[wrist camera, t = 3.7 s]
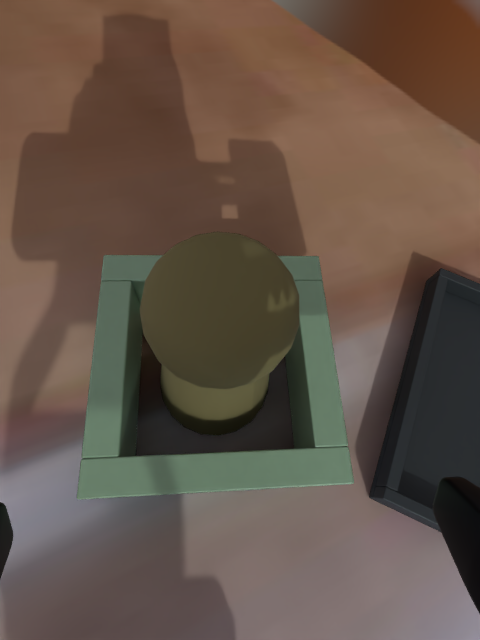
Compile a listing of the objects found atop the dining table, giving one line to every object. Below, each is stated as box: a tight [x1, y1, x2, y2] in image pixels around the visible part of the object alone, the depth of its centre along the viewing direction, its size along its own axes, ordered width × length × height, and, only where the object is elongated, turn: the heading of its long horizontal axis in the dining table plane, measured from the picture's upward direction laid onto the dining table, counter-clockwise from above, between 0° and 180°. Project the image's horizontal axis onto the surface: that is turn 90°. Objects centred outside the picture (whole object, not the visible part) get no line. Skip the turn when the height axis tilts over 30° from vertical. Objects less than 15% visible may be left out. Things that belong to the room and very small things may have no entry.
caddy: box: [77, 255, 354, 500], centre depth 19 cm, size 11×11×4 cm
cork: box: [140, 232, 299, 435], centre depth 16 cm, size 6×6×11 cm
